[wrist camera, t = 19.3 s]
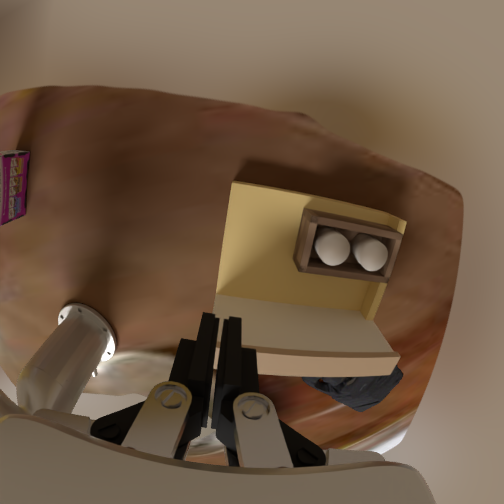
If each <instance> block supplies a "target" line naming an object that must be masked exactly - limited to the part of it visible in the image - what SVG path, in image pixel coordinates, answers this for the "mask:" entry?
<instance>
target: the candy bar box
mask: <svg viewBox="0 0 504 504" xmlns="http://www.w3.org/2000/svg"><path fill="white" fill-rule="evenodd" d="M29 156H30V152H28V151H19V150H10V151H3V152H0V226H2V225H4V224H6V223H8V222H11V221H13V220H15V219H18V218H20V217H22V216H25V214H26V189H27V175H28V164H29Z"/></svg>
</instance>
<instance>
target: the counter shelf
mask: <svg viewBox="0 0 504 504" xmlns="http://www.w3.org/2000/svg"><path fill="white" fill-rule="evenodd" d="M303 208H307V209H313V210H318V211H323V212H328V213H333V214H338V215H343V216H348V217H352V218H357V219H362V220H366V221H371V222H375V223H379V224H384V225H388V226H389V227H391V228H393V229H395V230H396V231H398V232H400V233H402V234H404V230H405V227H406V223H407V222H406V221H404V220H402V219H400V218H398V217H396V216H394V215H392V214H390V213H388V212H384V211H380V210H376V209H372V208H369V207H364V206H360V205H356V204H352V203H348V202H344V201H339V200H335V199H330V198H326V197H321V196H316V195H312V194H307V193H302V192H297V191H292V190H286V189H281V188H276V187H270V186H264V185H258V184H252V183H246V182H240V181H234V180H233V182H232V187H231V193H230V199H229V206H228V212H227V219H226V226H225V232H224V239H223V246H222V253H221V261H220V268H219V275H218V283H217V291H216V297H215V302H214V308H213V313H212V314H215V317H216V318H220V321H219V329H218V336H217V344H216V352H215V360H214V368H213V369H217V364H218V357H219V349H220V342H221V335H222V328H223V321H224V319H229V316H233V317H240V318H242V347H244V348H253V349H256V352H257V368H258V374H268V375H283V376H304V377H361V376H381V375H390V374H391V373H392V371H393V369H394V367H395V366H396V364H397V362H398V361H399V359H400V355H399V354H398V352H394V351H393V350H392V348H391V347H390V345H389V344H388V342H387V341H386V339H385V338H384V336H383V335H382V333H381V332H380V330H379V329H378V327H377V326H376V325H375V323H374V322H373V319H374V316H375V314H376V311H377V309H378V306H379V304H380V301H381V299H382V296H383V294H384V291H385V288H386V286H387V283H380V282H372V281H364V280H356V279H348V278H340V277H333V276H325V275H317V274H310V273H302V272H298V270H297V267H296V265H295V263H294V261H293V254H294V249H295V245H296V240H297V236H298V231H299V226H300V222H301V217H302V212H303Z"/></svg>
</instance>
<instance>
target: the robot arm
mask: <svg viewBox="0 0 504 504" xmlns="http://www.w3.org/2000/svg"><path fill="white" fill-rule="evenodd" d="M219 321H220V318H216V317H215V314H212V313H205V312H203V315H202V319H201V323H200V327H199V332H198V336H197V340H196V341H194V340H188V339H183V338H181V340H180V343H179V347H178V350H177V353H176V357H175V360H174V363H173V367H172V370H171V374H170V377H169V381H165V382H162V383H159V384H157V385H155V386H154V388H153V389H152V390H151V392H150V394H149V395H148V397H147V399H146V400H145V401H143V402H140V403H138V404H136V405H133V406H130V407H128V408H125V409H122V410H120V411H117V412H114V413H112V414H109V415H106V416H103V417H101V418H99V419H97V420H91V419H90V418H89V417H86V416H80V415H75V414H71V413H72V410H73V409H74V407H75V405H76V403H77V401H78V399H79V397H80V395H81V393H82V392H83V390H84V388H85V386H86V384H87V383H88V381H89V379H90V377H91V375H92V376H97V374H98V373H97V369H96V368H97V366H98V364H99V362H100V361H106V360H108V359H110V358H111V357H112V356H113V354H114V353H115V350H116V346H117V342H116V337H115V334H114V332H113V330H112V328H111V326H110V325H109V324H108V322H107V321H106V320H105V319H104V318H103V316H101V315H100V314H99V313H98V312H97V311H95V310H94V309H92V308H91V307H89V306H87V305H84V304H81V303H70V304H68V305H66V306H65V307H64V308H63V309H62V310H61V311H60V313H59V317H58V324H59V326H58V327H57V328H56V329H55V331H54V332H53V333H52V334H51V335H50V336H49V338H48V339H47V340H46V341H45V342H44V343H43V345H42V346H41V347H40V348H39V349H38V351H37V352H36V353H35V354H34V356H33V357H32V358H31V359H30V361H29V362H28V363H27V365H26V366H25V367H24V368H23V370H22V371H21V372H20V374H19V376H18V380H17V388H16V389H17V401H18V406H17V405H16V404H15V403H14V402H13V401H11V400H10V399H9V398H8V397H7V396H6V395H5V393H4V392H3V391H2V390H1V389H0V504H436V503H435V500H434V498H433V495H432V493H431V491H430V489H429V487H428V485H427V483H426V481H425V480H424V478H423V476H422V475H421V474H420V473H419V471H417V470H416V469H415V468H413V467H412V466H409V465H406V464H402V463H396V462H389V461H385V459H384V458H383V457H382V456H381V455H380V454H379V453H377V452H372V451H353V450H341V449H330V448H329V449H328V450H322V449H321V448H320V447H319V446H317V445H316V444H314V443H313V442H311V441H310V440H308V439H307V438H305V437H304V436H302V435H301V434H299V433H298V432H296V431H295V430H293V429H292V428H291V427H289V426H288V425H286V424H285V423H284V422H282V421H281V420H279V419H278V417H277V414H276V411H275V407H274V405H273V403H272V401H271V400H270V399H269V398H267V397H266V396H264V395H262V394H259V383H258V368H257V352H256V349H253V348H244V347H242V318H240V317H233V316H229V319H224V321H223V328H222V335H221V342H220V349H219V357H218V364H217V373H216V382H215V392H214V402H213V412H212V423H211V428H212V429H216V436H217V437H216V438H217V439H218V440H219V441H221V442H222V443H223V444H224V453H225V460H226V466H220V465H211V464H203V463H196V462H189V461H185V458H186V455H187V452H188V449H189V447H190V443H191V440H193V439H194V438H196V437H198V436H200V434H201V427H205V428H206V427H207V420H208V411H209V402H210V393H211V385H212V376H213V368H214V360H215V352H216V344H217V336H218V329H219Z"/></svg>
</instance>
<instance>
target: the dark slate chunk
mask: <svg viewBox="0 0 504 504" xmlns="http://www.w3.org/2000/svg"><path fill="white" fill-rule="evenodd" d="M402 377H403V374H402V372H401V370H400V369H399V368H398V367H397V365H396V366H395V367H394V369H393V371H392V373H391V374H390V375H381V376H361V377H304V376H302V379H303V381H304V382H306V383H307V384H308V385H309V386H311V387H313V388H315V389H317V390H319V391H321V392H323V393H326V394H328V395H330V396H332V398H333V399H335V400H336V401H338V402H341V403H343V404H344V405H347V406H349V407H351V408H352V409H354V410H356V411H358V412H363V411H365V410H367V409H369V408H371V407H372V406H375V405H376V404H378V403H380V402H381V401H382V400H383V399H384V398H385V397H386V396H387V395H388V394H389V393H390V391H391V390H392V389H393V388H394V387H395V386H396V385H397V384H398V383H399V381H400V380H401V379H402ZM320 378H321V379H322V380H323V381H324V382H325V383H320V382H319V379H320Z"/></svg>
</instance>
